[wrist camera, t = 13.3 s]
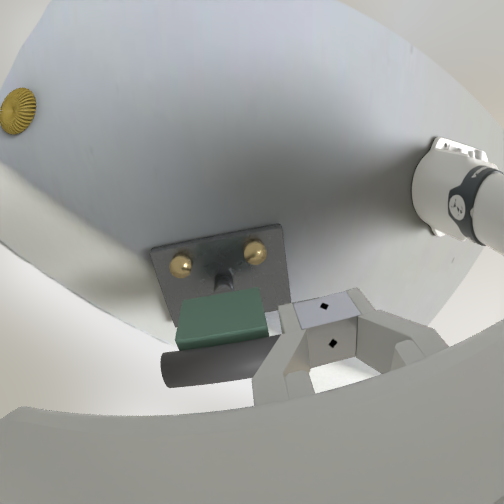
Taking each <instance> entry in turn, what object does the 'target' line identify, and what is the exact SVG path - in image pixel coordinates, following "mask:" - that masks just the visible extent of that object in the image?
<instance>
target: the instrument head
mask: <svg viewBox="0 0 504 504" xmlns="http://www.w3.org/2000/svg"><path fill="white" fill-rule="evenodd" d="M280 335H281V334H280ZM280 335H275V336H270V337H269V333H268V327H267V322H266V318H265V313H264V309H263V304H262V300H261V295H260V291H259V287H255V288H250V289H245V290H239V291H234V292H233V290H232V291H226V292H220V293H215V294H211V296H205V297H199V298H193V299H188V300H183V301H182V306H181V311H180V316H179V322H178V327H177V332H176V338H175V341H176V344H177V346H178V348H179V351H175V352H166V353H163V354H162V356H161V372H162V377H163V380H164V382H165V384H166V386H167V387H169V388H175V387H185V386H195V385H204V384H213V383H220V382H227V381H234V380H241V379H247V378H253V376H254V375H255V373H256V372H257V371H258V369H259V368H260V366H261V365H262V363H263V361H264V360H265V358H266V357H267V355H268V354H269V352H270V351H271V349H272V348H273V346H274V345H275V343H276V341H277V340H278V338H279V337H280Z"/></svg>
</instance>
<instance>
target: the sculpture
mask: <svg viewBox="0 0 504 504" xmlns="http://www.w3.org/2000/svg"><path fill="white" fill-rule="evenodd" d="M35 108H36V99H35V97H34V95H33V93H32V92H31V91H30V90H29V89H26V88H18V89H16V90H13V91H12V92H10V94H9V95H7V97H6V98H5V99H4V101H3V104H2V106H1V109H0V110H3V111H0V113H1V114H0V123H1V126H2V128H3V130H4V131H5V132H6V133H8V134H18V133H21V132H22V131H24V130H25V129H26V128H27V127H28V126H29V125H30V123H31V122H32V120H33V118H34V116H33V115H35V113H34V112H33V111H36V109H35ZM31 111H32V112H31Z"/></svg>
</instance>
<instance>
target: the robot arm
mask: <svg viewBox="0 0 504 504" xmlns="http://www.w3.org/2000/svg"><path fill="white" fill-rule="evenodd" d="M444 144H445V146H444ZM412 200H413V204H414V208H415V210H416V212H417V214H418V215H419V217H420V218H421V219H422V220H423V221H424V222H426V223H427V224H428V225H430V227H431V229H432V231H433V233H434V234H435V235H436V236H438V237H442V236H444V235H446V234H447V235H449V236H451V237H453V238H455V239H458V240H460V241H465V240H467V239H469V240H471V241H472V242H474V243H477V244H480V245H482V246H488V247H490V248H491V249H493V250H495V251H497V252H498V253H500V254H502V255H503V256H504V174H503V173H502V172H501V171H499V170H498V168H497V166H496V165H495V164H492V163H489V162H488V159H487V156H486V153H485V152H484V151H481V150H479V149H476V148H473V147H470V146H467V145H464V144H461V143H458V142H455V141H452V140H448V139H445V138H442V137H436V138H435V140H434V142H433V144H432V147H431V149H430V151H429V152H428V153H427V154H426V155H425V156H424V157H423V158H422V160H421V161H420V162H419V164H418V166H417V168H416V171H415V173H414V177H413V182H412ZM278 312H279V318H280V324H281V330H282V334H281V335H280V337H279V338H278V340H277V341H276V343H275V345H274V346H273V348H272V349H271V351H270V352H269V354H268V355H267V357H266V358H265V360H264V361H263V363H262V365H261V366H260V368H259V369H258V371H257V372H256V373H255V375H254V376H253V378H252V388H253V399H254V406H252V407H245V408H238V409H231V410H224V411H215V412H205V413H193V414H179V415H159V416H112V415H91V414H78V413H67V412H58V411H50V410H43V409H37V408H31V407H19V408H17V409H16V410H14V411H12V412H10V413H9V414H7V415H6V416H5V417H3V418H2V419H0V504H504V319H503V320H501V321H499V322H497V323H496V324H494V325H492V326H490V327H489V328H487V329H485V330H483V331H481V332H480V333H477V334H476V335H474V336H472V337H470V338H468V339H466V340H464V341H462V342H460V343H457V344H455V345H453V346H451V347H449V346H448V345H447V344H446V343H445V341H444V340H443V339H442V338H441V337H440V335H439V334H438V333H437V332H436V331H435V330H434V329H433V328H430V327H427V326H424V325H421V324H419V323H416V322H413V321H410V320H407V319H404V318H402V317H399V316H396V315H393V314H390V313H388V312H385V311H382V310H377V311H376V310H375V309H374V307H373V306H372V305H371V303H370V302H369V301H368V299H367V298H366V297H365V295H364V294H363V293H362V292H361V290H360V289H359V288H353V289H350V290H346V291H343V292H340V293H336V294H332V295H328V296H324V297H320V298H319V297H318V298H313V299H309V300H304V301H299V302H293V303H288V304H284V305H279V306H278ZM355 356H356V358H358V359H359V360H361V361H363V362H364V363H366V364H367V365H369V366H370V367H372V368H374V369H375V370H377V371H378V372H380V373H381V375H378V376H375V377H372V378H369V379H366V380H363V381H359V382H356V383H353V384H349V385H346V386H343V387H339V388H335V389H332V390H328V391H324V392H320V393H316V394H315V392H314V388H313V385H312V382H311V379H310V376H309V372H310V368H314V367H317V366H321V365H325V364H328V363H332V362H336V361H340V360H344V359H348V358H352V357H355Z"/></svg>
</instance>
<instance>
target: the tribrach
mask: <svg viewBox="0 0 504 504" xmlns="http://www.w3.org/2000/svg"><path fill="white" fill-rule="evenodd" d="M150 256H151V259H152V262H153V265H154V268H155V271H156V274H157V277H158V280H159V283H160V286H161V289H162V292H163V295H164V298H165V301H166V304H167V306H168V309H169V312H170V315H171V317H172V320H173V323H174V325H175V327H178V322H179V316H180V311H181V306H182V301H183V300H188V299H193V298H199V297H205V296H211V294H215V293H220V292H226V291H232V290H233V292H234V291H239V290H245V289H250V288H255V287H259V291H260V295H261V300H262V304H263V309H264V313H265V312H270V311H275V310H278V306H279V305H284V304H288V303H291V297H290V288H289V280H288V271H287V263H286V255H285V247H284V240H283V232H282V227H281V226H280V224H276V225H270V226H265V227H259V228H254V229H248V230H243V231H238V232H232V233H227V234H222V235H217V236H211V237H206V238H201V239H196V240H191V241H186V242H181V243H176V244H171V245H166V246H161V247H156V248H152V250H151V252H150Z"/></svg>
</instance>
